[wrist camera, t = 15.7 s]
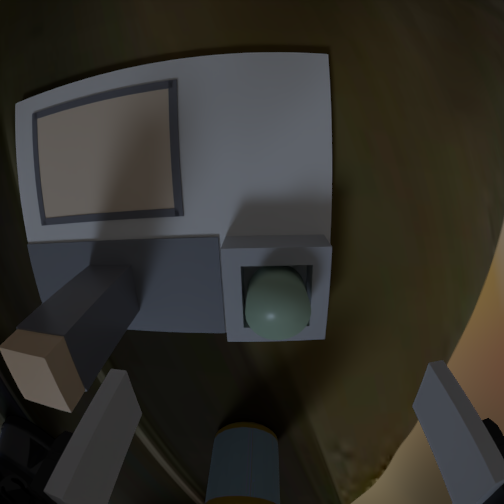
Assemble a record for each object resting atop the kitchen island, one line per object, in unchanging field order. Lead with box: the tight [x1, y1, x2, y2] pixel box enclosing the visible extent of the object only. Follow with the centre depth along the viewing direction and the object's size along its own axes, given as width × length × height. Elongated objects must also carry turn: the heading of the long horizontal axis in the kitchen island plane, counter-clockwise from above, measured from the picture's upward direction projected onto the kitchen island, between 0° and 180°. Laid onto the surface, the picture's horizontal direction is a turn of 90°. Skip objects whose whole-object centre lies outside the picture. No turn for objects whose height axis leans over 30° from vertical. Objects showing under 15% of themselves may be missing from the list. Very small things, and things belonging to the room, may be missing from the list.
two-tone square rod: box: [0, 265, 140, 413], centre depth 18 cm, size 4×4×12 cm
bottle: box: [205, 421, 280, 504], centre depth 23 cm, size 7×7×15 cm
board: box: [15, 52, 332, 342], centre depth 21 cm, size 26×21×4 cm
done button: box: [245, 266, 311, 340], centre depth 20 cm, size 4×4×3 cm
